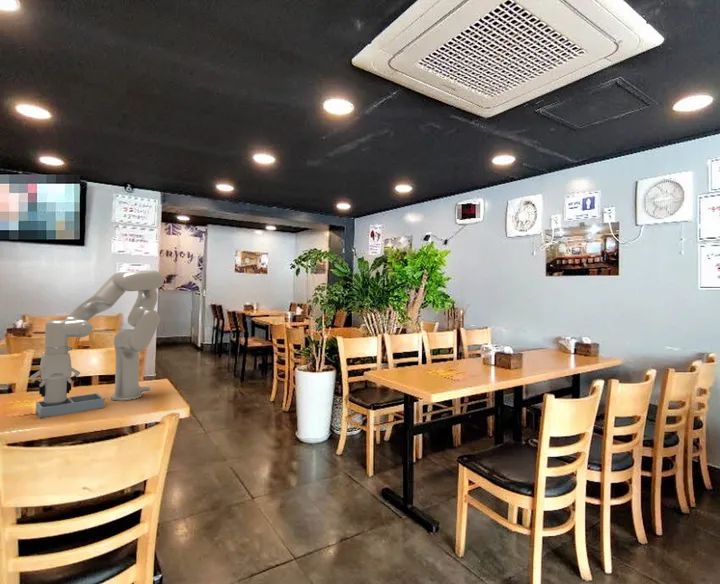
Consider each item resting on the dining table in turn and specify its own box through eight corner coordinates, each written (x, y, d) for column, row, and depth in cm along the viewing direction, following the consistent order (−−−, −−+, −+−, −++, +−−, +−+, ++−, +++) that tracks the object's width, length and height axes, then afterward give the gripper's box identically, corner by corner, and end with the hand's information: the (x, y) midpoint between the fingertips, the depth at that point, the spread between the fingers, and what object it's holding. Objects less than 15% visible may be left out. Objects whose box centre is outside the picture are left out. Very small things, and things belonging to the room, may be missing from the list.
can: (60, 404, 162) (60, 374, 162) (39, 405, 161) (39, 374, 161) (70, 399, 170) (71, 370, 169) (50, 399, 168) (51, 370, 168)
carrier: (97, 402, 181) (97, 393, 180) (104, 407, 173) (104, 398, 173) (36, 411, 165) (36, 401, 165) (40, 418, 158) (40, 408, 157)
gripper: (80, 347, 174) (78, 389, 174) (27, 351, 161) (26, 395, 162) (84, 350, 169) (83, 392, 169) (30, 354, 156) (29, 400, 156)
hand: (55, 394), depth 165 cm, fingers closed on can, 7 cm apart
